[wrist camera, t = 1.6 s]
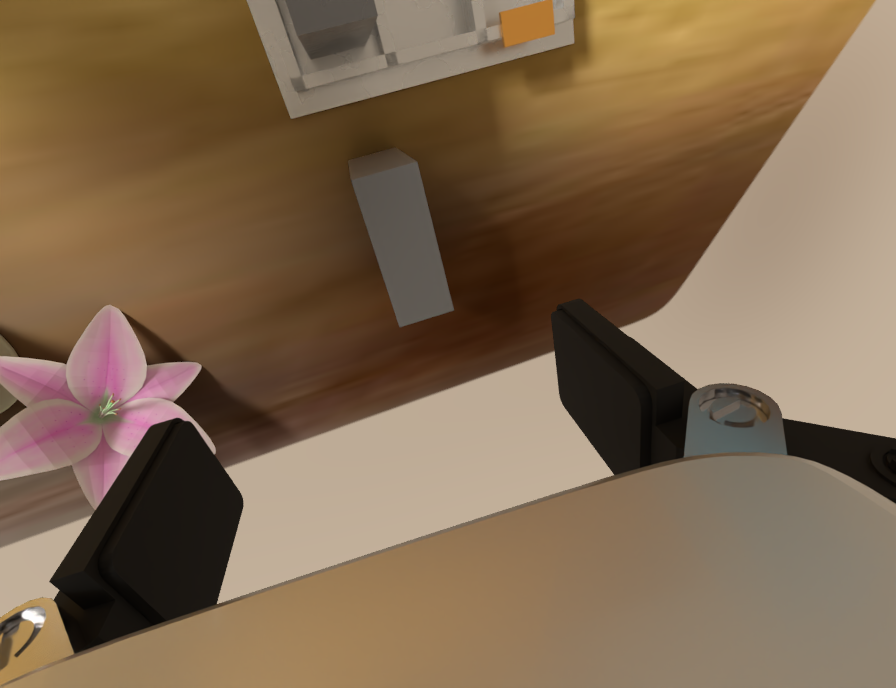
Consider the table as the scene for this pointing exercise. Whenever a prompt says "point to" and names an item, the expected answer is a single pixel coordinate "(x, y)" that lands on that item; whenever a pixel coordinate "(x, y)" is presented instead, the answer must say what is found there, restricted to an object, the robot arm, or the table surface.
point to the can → (3, 398)
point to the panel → (401, 234)
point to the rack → (396, 43)
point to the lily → (89, 406)
